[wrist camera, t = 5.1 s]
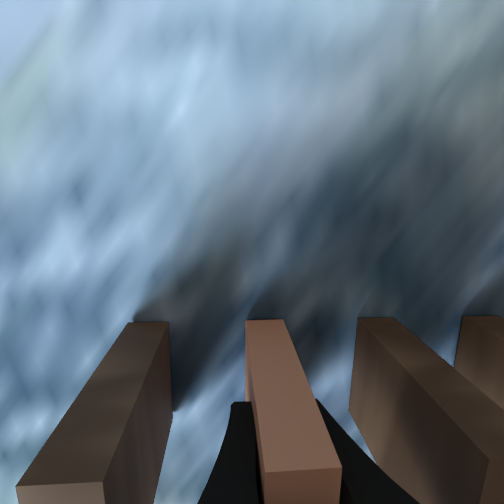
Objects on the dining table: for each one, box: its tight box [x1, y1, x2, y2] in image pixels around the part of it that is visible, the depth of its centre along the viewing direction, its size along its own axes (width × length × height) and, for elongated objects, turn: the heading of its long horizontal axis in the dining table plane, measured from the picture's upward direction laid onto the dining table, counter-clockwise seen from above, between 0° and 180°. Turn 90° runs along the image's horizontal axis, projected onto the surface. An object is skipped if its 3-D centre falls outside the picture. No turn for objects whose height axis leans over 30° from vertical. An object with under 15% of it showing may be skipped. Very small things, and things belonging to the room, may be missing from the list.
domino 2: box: [349, 318, 504, 504], centre depth 11 cm, size 2×5×7 cm, turn 179°
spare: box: [245, 319, 342, 504], centre depth 10 cm, size 2×5×7 cm, turn 0°
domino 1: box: [15, 322, 173, 504], centre depth 10 cm, size 2×5×7 cm, turn 179°
